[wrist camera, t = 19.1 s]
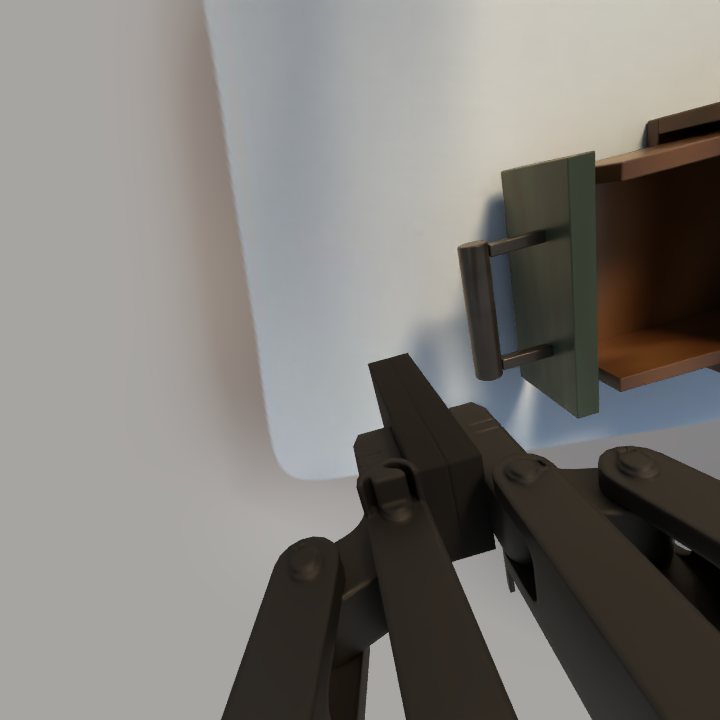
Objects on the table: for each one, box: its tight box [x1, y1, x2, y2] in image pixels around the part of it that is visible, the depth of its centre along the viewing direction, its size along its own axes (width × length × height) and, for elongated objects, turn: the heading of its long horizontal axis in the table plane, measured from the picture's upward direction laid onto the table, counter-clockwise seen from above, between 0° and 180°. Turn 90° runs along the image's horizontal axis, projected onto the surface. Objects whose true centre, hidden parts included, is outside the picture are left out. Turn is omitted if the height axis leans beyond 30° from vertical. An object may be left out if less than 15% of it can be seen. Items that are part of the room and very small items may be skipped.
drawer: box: [457, 129, 720, 418], centre depth 21 cm, size 18×12×6 cm
